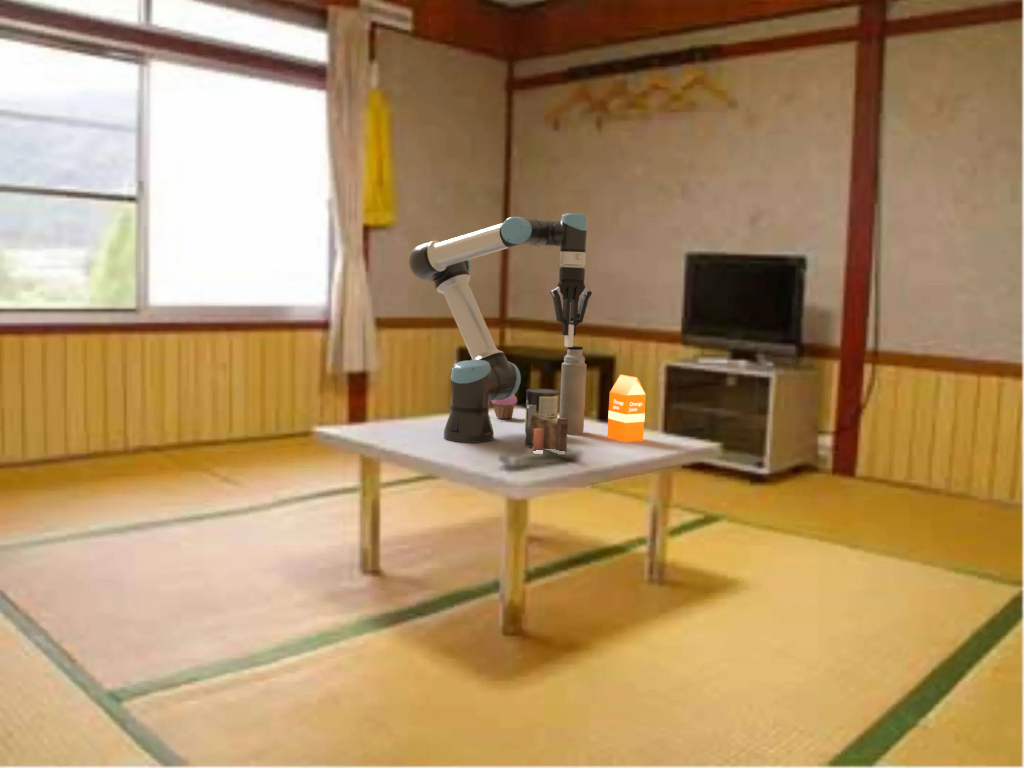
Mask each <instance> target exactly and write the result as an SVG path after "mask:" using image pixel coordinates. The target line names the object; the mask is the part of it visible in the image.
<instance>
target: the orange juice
mask: <svg viewBox="0 0 1024 768" xmlns="http://www.w3.org/2000/svg"><path fill="white" fill-rule="evenodd" d="M646 396H647V395H646V391H645V390H644V388H643V386H642V384H641V382H640V380H639V378H638V377H637V376H633V375H626V374H621V373H620V375H619V377H618V378H617V380H616V381H615V382H614V384H613V386H612V388H611V389H610V391H609V397H608V398H609V401H608V403H609V404H608V413H607V414H608V416H607V417H608V418H607V438H609V439H613V440H617V441H619V442H620V441H621V442H624V443H627V442H628V443H629V442H639V441H640V442H641V441H644V433H645V432H644V429H645V415H646V399H647V398H646Z"/></svg>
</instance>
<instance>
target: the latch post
mask: <svg viewBox="0 0 1024 768" xmlns="http://www.w3.org/2000/svg"><path fill="white" fill-rule="evenodd" d="M536 450H543V451H544V450H545V449H544V429H541V428H535V429H534V436H533V446H532V452H533V451H536Z"/></svg>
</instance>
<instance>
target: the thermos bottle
mask: <svg viewBox="0 0 1024 768" xmlns="http://www.w3.org/2000/svg"><path fill="white" fill-rule="evenodd" d="M566 348H567V353H566V355H564V358H563V362H562V363H561V378H560V392H559V394H560V396H559V397H560V398H559V417H558V418H566V419H568V427H567V435H582V434H584V430H585V429H584V427H585V425H584V424H585V407H586V385H587V363H585V361H586V358H585V356H584V355H583V349H584V348H583V346H579V345H573V347H566Z"/></svg>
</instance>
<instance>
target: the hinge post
mask: <svg viewBox="0 0 1024 768" xmlns="http://www.w3.org/2000/svg"><path fill="white" fill-rule="evenodd" d="M531 415H536V405H527V416H526V415H525V421H526V434H525V440H524V442H525V443H524V444H525V446H526V447H533V444H531V427H532V420H531Z"/></svg>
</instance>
